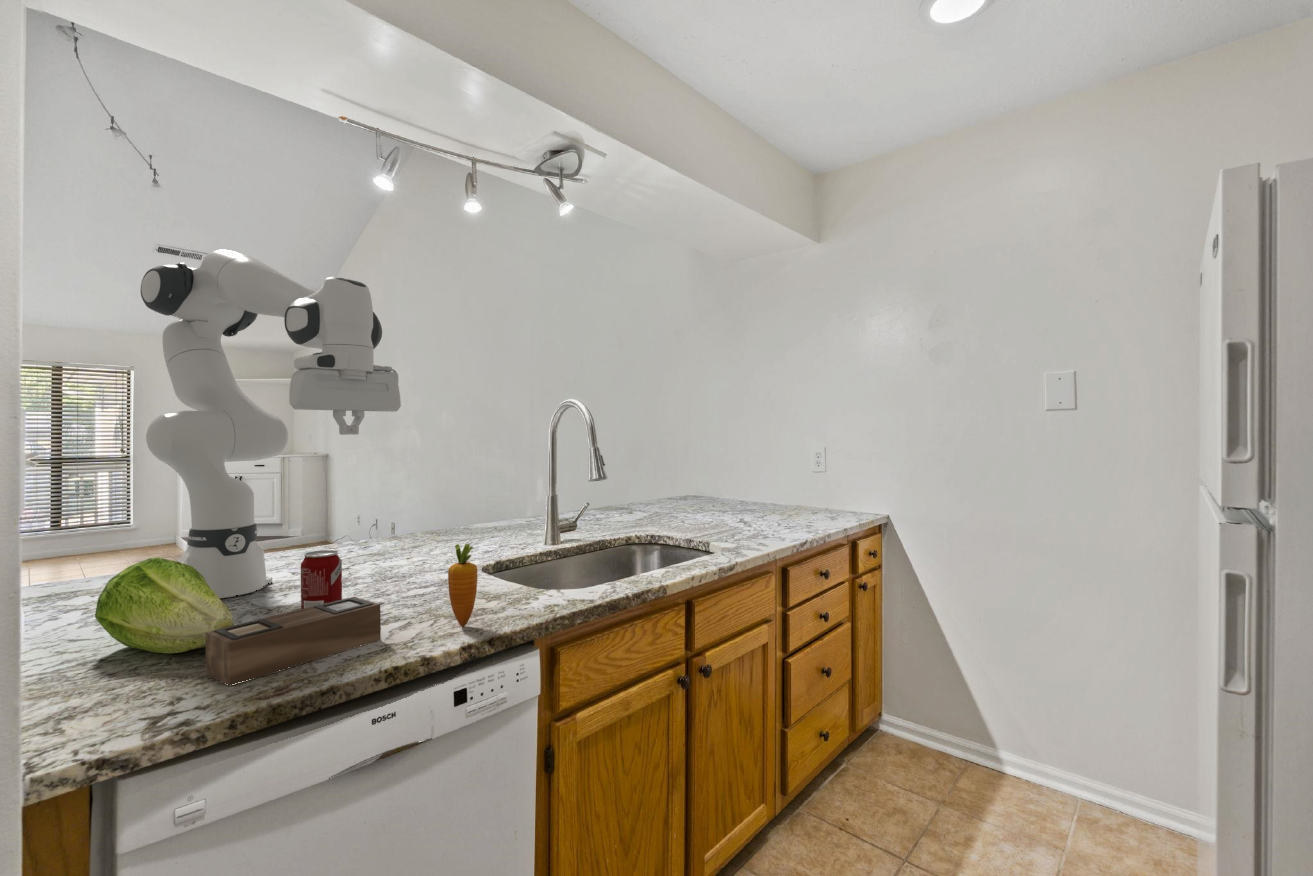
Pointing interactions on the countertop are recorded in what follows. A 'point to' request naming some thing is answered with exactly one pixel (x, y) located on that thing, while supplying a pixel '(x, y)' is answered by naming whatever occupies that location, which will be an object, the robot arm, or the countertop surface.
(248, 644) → the walnut block
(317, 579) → the soda can
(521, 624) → the countertop surface
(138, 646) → the lettuce
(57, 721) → the countertop surface
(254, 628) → the maple peg
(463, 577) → the carrot
